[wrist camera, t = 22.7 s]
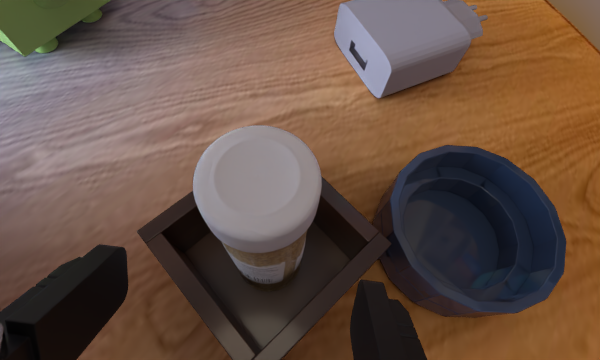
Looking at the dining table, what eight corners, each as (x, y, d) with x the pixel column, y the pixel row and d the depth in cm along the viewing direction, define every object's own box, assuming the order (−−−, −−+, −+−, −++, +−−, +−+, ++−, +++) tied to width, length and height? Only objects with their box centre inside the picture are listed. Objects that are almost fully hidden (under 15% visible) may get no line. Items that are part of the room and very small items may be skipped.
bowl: (342, 235, 25) (356, 212, 21) (428, 153, 29) (455, 119, 24) (461, 355, 22) (508, 358, 17) (540, 245, 26) (595, 225, 21)
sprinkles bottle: (313, 256, 24) (350, 170, 11) (270, 307, 22) (259, 270, 10) (267, 216, 25) (255, 99, 13) (222, 262, 23) (160, 178, 11)
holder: (167, 254, 24) (135, 231, 19) (275, 170, 27) (274, 131, 22) (260, 376, 21) (253, 388, 16) (368, 264, 24) (392, 243, 19)
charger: (495, 59, 35) (377, 102, 31) (444, 6, 38) (332, 39, 35) (526, 20, 31) (393, 65, 27) (464, -36, 34) (340, -3, 30)
